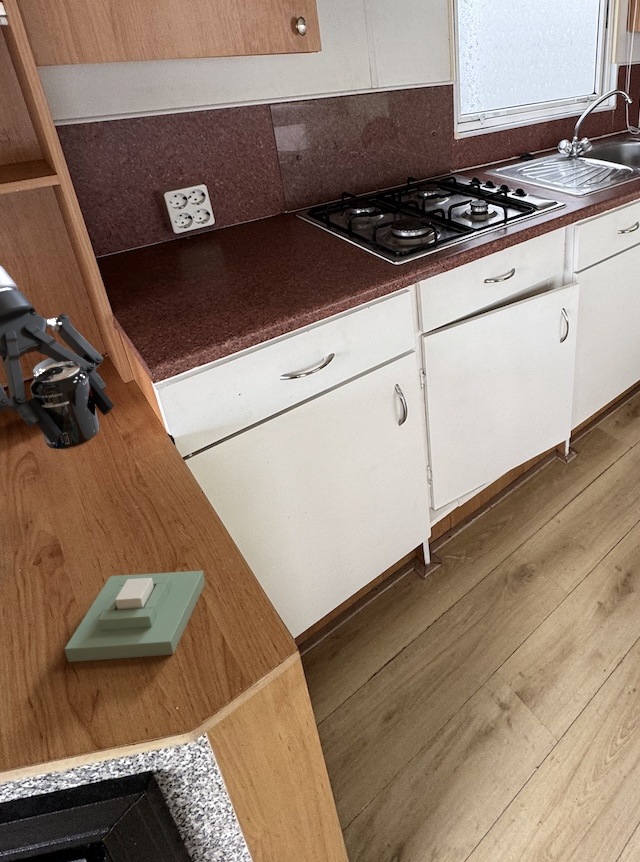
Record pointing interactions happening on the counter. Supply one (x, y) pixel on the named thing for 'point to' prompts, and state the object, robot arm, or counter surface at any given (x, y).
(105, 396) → the robot arm
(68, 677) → the counter surface
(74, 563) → the counter surface
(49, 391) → the beverage can
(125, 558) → the counter surface
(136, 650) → the tiered green stack
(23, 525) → the counter surface
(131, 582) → the small white rectangular block
